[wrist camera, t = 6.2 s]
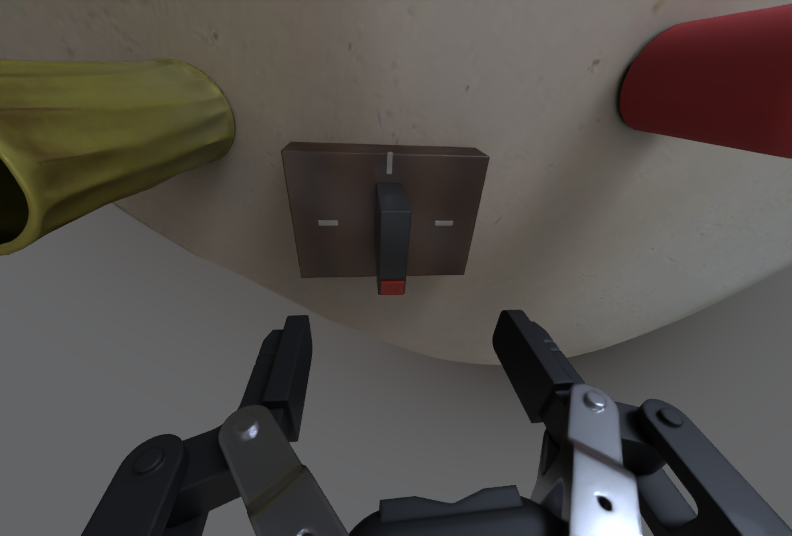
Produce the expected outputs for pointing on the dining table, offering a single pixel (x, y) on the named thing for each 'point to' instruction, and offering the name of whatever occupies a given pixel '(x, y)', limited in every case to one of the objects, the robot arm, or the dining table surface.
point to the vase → (98, 136)
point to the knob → (391, 238)
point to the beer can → (717, 82)
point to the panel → (356, 204)
